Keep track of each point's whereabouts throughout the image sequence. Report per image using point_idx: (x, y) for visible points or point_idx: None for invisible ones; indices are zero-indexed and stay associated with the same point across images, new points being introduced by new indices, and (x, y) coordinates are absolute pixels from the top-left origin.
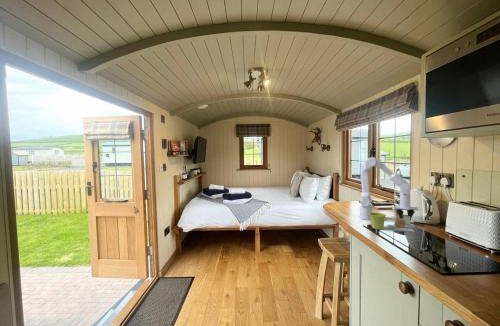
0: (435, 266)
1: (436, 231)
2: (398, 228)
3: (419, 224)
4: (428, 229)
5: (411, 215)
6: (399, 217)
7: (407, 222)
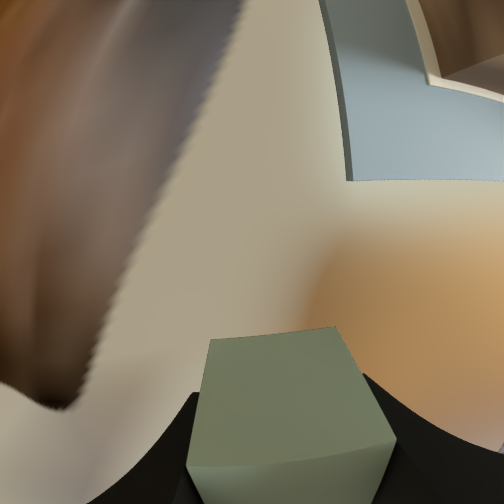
0: None
1: (3, 39)
2: None
3: (73, 351)
4: (34, 83)
5: (140, 492)
6: None
7: (260, 354)
